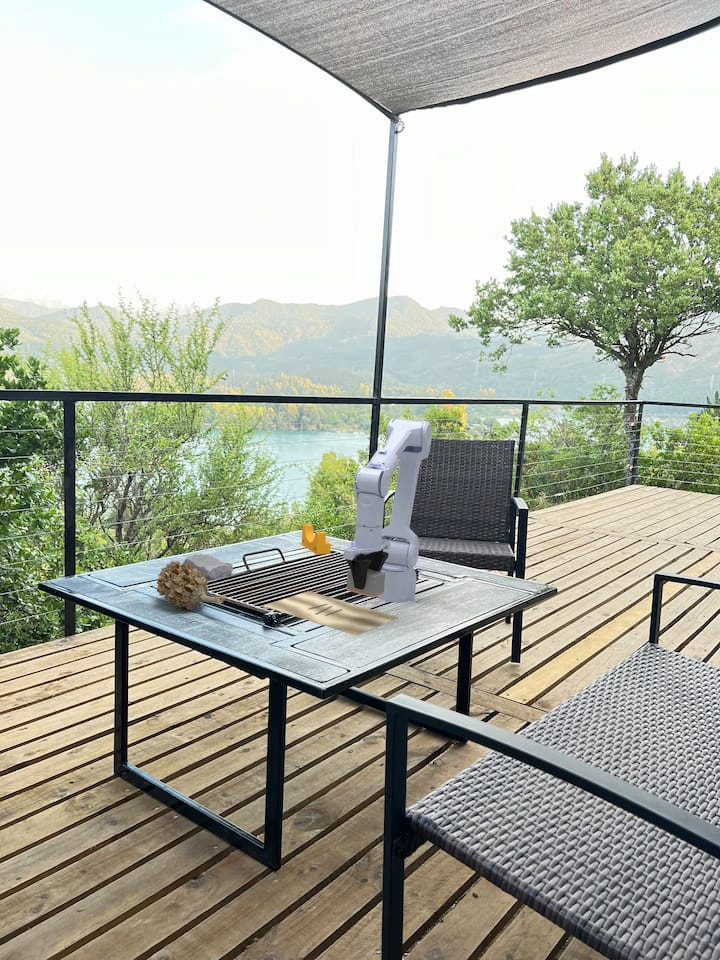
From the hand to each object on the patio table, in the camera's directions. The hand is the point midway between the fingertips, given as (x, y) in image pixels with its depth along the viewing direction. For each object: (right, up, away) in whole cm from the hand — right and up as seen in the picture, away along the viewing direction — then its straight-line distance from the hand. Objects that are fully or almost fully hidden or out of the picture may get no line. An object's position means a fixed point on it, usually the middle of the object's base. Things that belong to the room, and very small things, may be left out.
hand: (365, 586), depth 168 cm
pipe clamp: (-15, +2, +67) cm, 69 cm away
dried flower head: (-38, -6, +6) cm, 39 cm away
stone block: (-40, -2, +37) cm, 54 cm away
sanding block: (0, -1, 0) cm, 1 cm away
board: (-8, -8, +7) cm, 13 cm away
